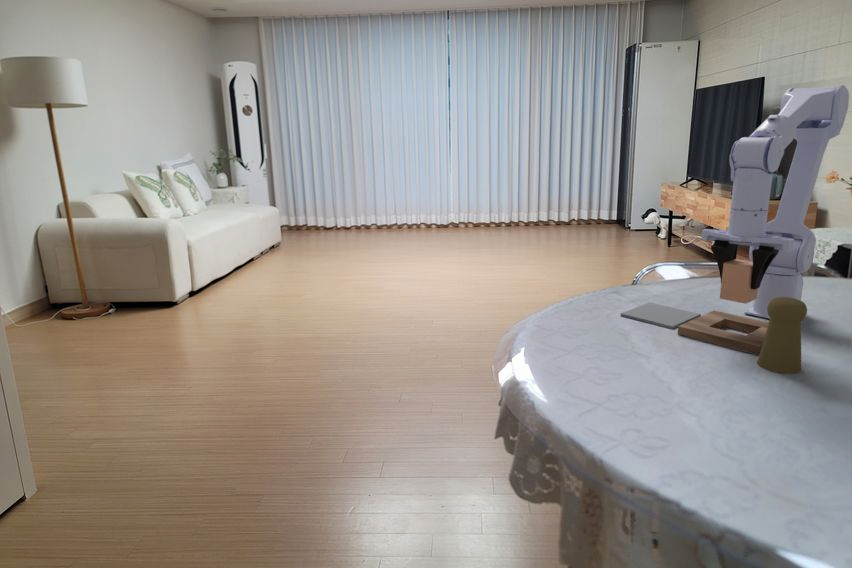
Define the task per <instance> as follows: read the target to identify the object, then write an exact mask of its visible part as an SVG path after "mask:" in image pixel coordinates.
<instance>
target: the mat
mask: <svg viewBox="0 0 852 568" xmlns="http://www.w3.org/2000/svg"><path fill="white" fill-rule="evenodd" d="M620 316H621V317H624V318H628V319H633V320H636V321H640V322H644V323H647V324H651V325H655V326H660V327H664V328H668V329H671V330H672V329H676V328H678V326H680V325H682V324H684V323H687V322H689V321H691V320H693V319H696V318H698V317H700V316H702V314H701V313H698V312H695V311H694V312H693V311H690V310H686V309H685V310H684V309H680V308H676V307H671V306H667V305H662V304H657V303H653V302H647V303H645V304H643V305H639V306H636V307H634V308H632V309H629V310H627V311H624V312H621V313H620Z"/></svg>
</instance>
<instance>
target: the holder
mask: <svg viewBox="0 0 852 568" xmlns="http://www.w3.org/2000/svg"><path fill="white" fill-rule="evenodd" d="M768 324H769V321H764V320H761V319H755V318H751V317H746V316H742V315H736V314H731V313H728V312H724V311H723V312H722V311H719V310H712V311H709V312H707V313H705V314H703V315H702V314H701V316H700V317H698V318H696V319H693V320H691V321H689V322H687V323H684V324H682V325H680V326H678V327H677V335H680V336H683V337H684V336H685V337H688V338H691V339H696V340H698V341H699V340H700V341H703V342H707V343H712V344H716V345H719V346H724V347H726V348H731V349H734V350H737V351H738V350H739V351H742V352H746V353H749V354H753V355H758V356H759V355H760V351H761V348H762V344H763V341H764V338H765V334H766V331H767V328H768ZM723 327H725V328H729V329H734V330H737V331H742V332H746V333H748V334H743V333H742V334H741V333H737V332H733V331H728V330H724V329H721V328H723Z"/></svg>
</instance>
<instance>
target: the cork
mask: <svg viewBox="0 0 852 568" xmlns="http://www.w3.org/2000/svg"><path fill="white" fill-rule="evenodd" d="M807 307H808V306H807V305H806V303H805V302H803V301H802V300H801V301H800V300H798V299H794V298H787V297H779V298H774V299H772V300H771V301H770V303H769V304H768V308H767V311H768V315H769V316H770V319H769V321H768V322H769V324H768V328H767V331H766V334H765V338H764V341H763V344H762V348H761V351H760V354H759V355H758V357H757V358H758V359H757V362H756V364H757V365H758V366H759V367H760V368H762V369H764V370H766V371H770V372H773V373H778V374H792V375H793V374H798V373H800V372H802V322H803V321H804V320H805V318H806V316H807V314H808V308H807Z"/></svg>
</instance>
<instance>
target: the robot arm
mask: <svg viewBox="0 0 852 568" xmlns="http://www.w3.org/2000/svg"><path fill="white" fill-rule="evenodd" d="M849 100H850V94H849V89H848V88H847V87H846V85H844V84H842V85H841V84H840V85H836V86H819V87H818V86H816V87H801V88H800V87H799V88H798V87H790V88H788V89H787V90H786V91H785V92H784V94H783V96H782V98H781V102H780V111H779V112H778V114H770V115H769V116H768V117H767V118H766V119H765V120H764V121H763V122H762V123H761V124H760V125H759V126H758V127H757V128H755V130H754V131H753V132H752V133H751V134H750V135H749V136H744V137H741V138H739V140H736V141H735V142H734V143H733V145H732V146H731V150H730V154H729V167H730V181H731V182H733V183H732V191H731V192H732V193H731V202H730V211H729V218H728V219H729V220H728V227H727V230H726V229H714V228H713V229H712V228H706V229H702V230H701V237H700V239H701V241H705V242H709V241H710V242H714V243H713V244H712V245H711V246H710V249H711V252H712V255H713V256H714V258H715V260H716V264H717V267H718V271H719V277H720V283H721V282H722V273H723V264H724V263H725V262H728V261H731V260H734V256H735V253H736V249H737V247H738V246H737V245H739V246H748V247H749V251H748V256H749V257H748V259H749V261H750V262H753V272H752V278H751V289H757V288H758V293H757V299H755V300H753V301H752V302H753V304H752V305H753V306H752V307H750V308H747V309H746V310H744V311H743V312H744V314H746V315H750V316H755V317H760V318H764V319H768V320H770V316H769V315H768V311H767V308H768V304H769V303H770V301H771V300H772V299H774V298H779V297H787V298H794V299H798V300H800V301H802V297H803V296H802V295H803V290H804V278H803V276H802V273H806V271H808V270H809V269H810V268H811V266H812V264H813V260H814V257H815V248H816V247H815V246H816V241H817V239H816V235H815V233H814V232H813V230H811V229H810V228H809V227H808V226H806V224H805V219H806V216H807V212H808V208H809V205H810V202H811V198H812V195H813V192H814V188H815V185H816V182H817V179H818V175H819V172H820V168H821V165H822V161H823V158H824V155H825V151H826V149H827V146H828V144H829V142H830V140H831V139H833V138H835V137H838V136H840V133H841V130H842V129H843V127H844V123H845V120H846V116H847V113H848V110H849V105H850V104H849V102H850V101H849ZM794 140H795V141H796V142H797V144H796V147H795V149H794V150H795V151H794V154H793V158H792V160H791V161H792V162H791V164H790V168H789V171H788V174H787V177H786V178H787V179H786V182H785V185H784V188H783V192H782V194H781V198H780V202H779V204H778V209H777V212H776V215H775V218H773V219H772V220H770V221H768V213H769V206H770V205H769V204H770V198H771V189H772V184H773V183H772V182H773V177H774V176H773V175H774V172H776V171H778V168H779V166H780V165H781V161H782V159H783V157H784V155H785V150H786V148H788V146H789V145H790V144H791V143H792V142H793V141H794ZM767 221H768V222H767Z"/></svg>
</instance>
